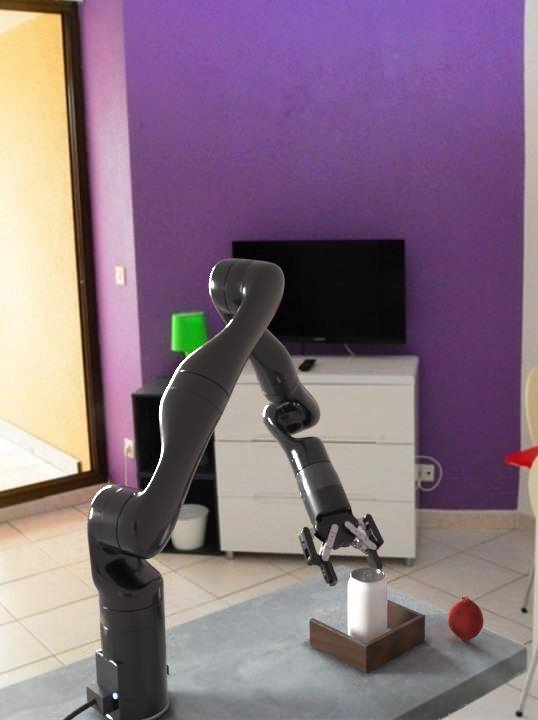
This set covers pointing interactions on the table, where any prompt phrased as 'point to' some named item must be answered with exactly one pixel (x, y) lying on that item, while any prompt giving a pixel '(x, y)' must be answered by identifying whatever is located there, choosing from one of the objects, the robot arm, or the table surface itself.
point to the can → (367, 604)
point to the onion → (465, 619)
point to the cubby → (377, 651)
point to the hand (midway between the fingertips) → (356, 579)
